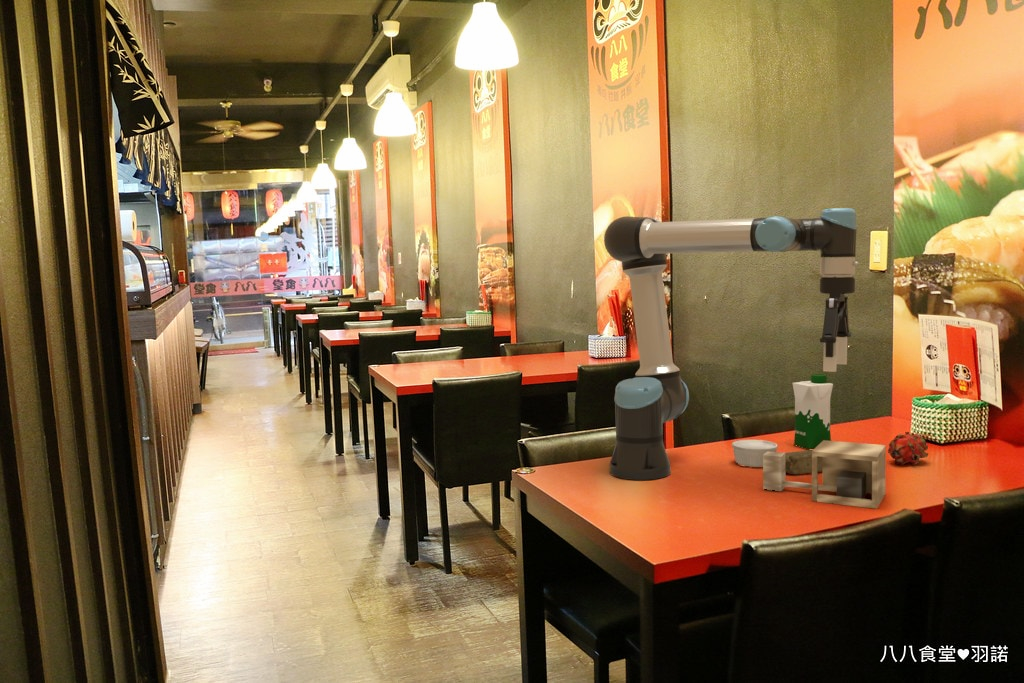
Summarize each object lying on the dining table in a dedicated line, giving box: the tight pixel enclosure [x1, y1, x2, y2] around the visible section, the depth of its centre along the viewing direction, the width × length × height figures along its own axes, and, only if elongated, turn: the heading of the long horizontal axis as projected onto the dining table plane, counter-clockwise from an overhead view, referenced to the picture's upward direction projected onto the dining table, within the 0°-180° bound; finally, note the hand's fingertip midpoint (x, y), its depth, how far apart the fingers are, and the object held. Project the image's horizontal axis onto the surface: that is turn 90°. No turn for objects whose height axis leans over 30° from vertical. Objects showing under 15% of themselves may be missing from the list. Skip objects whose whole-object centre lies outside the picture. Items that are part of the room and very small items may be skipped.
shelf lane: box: [811, 440, 887, 510], centre depth 177 cm, size 13×12×11 cm
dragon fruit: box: [887, 431, 929, 466], centre depth 205 cm, size 8×8×12 cm
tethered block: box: [762, 451, 867, 499], centre depth 181 cm, size 21×6×8 cm, turn 58°
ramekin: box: [731, 439, 779, 468], centre depth 210 cm, size 11×11×5 cm
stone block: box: [784, 450, 823, 475], centre depth 201 cm, size 6×12×5 cm, turn 104°
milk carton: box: [791, 373, 834, 450], centre depth 226 cm, size 9×9×20 cm
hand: (835, 367), depth 189 cm, fingers open, 13 cm apart
